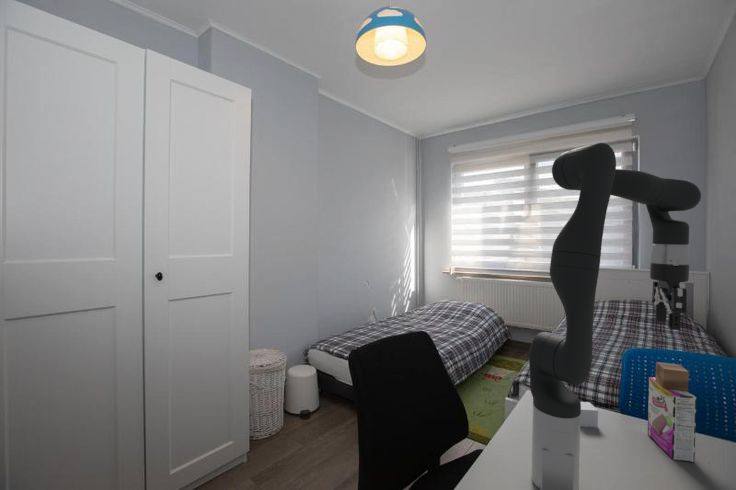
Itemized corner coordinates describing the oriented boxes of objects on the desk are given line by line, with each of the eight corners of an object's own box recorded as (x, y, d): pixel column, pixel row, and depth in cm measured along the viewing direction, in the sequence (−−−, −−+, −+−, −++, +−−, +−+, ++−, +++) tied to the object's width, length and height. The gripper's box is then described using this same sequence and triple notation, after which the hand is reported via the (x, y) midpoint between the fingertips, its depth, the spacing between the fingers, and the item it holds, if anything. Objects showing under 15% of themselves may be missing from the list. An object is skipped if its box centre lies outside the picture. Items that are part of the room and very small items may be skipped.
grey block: (597, 427, 100) (598, 410, 100) (579, 426, 101) (579, 409, 101) (589, 418, 105) (589, 402, 105) (571, 417, 106) (571, 401, 106)
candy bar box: (645, 434, 97) (647, 376, 96) (666, 436, 96) (668, 377, 95) (672, 460, 86) (674, 394, 85) (695, 463, 85) (698, 396, 84)
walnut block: (688, 391, 87) (688, 371, 87) (663, 388, 89) (663, 368, 89) (679, 383, 92) (679, 364, 91) (655, 380, 93) (656, 361, 93)
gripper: (642, 259, 97) (640, 317, 98) (661, 263, 84) (659, 330, 85) (676, 260, 95) (673, 320, 95) (702, 264, 81) (699, 334, 82)
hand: (667, 324), depth 90 cm, fingers open, 8 cm apart
